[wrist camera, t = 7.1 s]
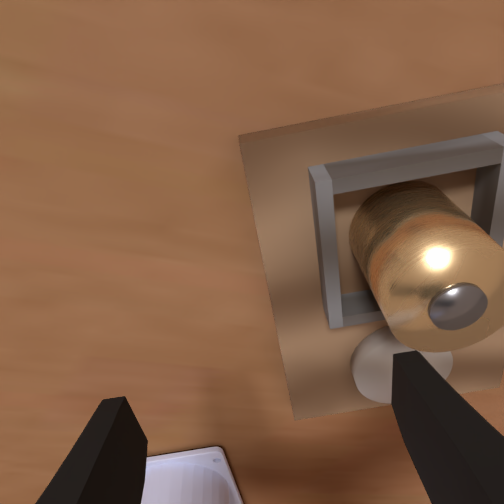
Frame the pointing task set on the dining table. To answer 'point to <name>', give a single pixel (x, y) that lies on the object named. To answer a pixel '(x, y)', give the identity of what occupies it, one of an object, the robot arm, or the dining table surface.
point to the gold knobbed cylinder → (429, 267)
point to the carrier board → (337, 237)
